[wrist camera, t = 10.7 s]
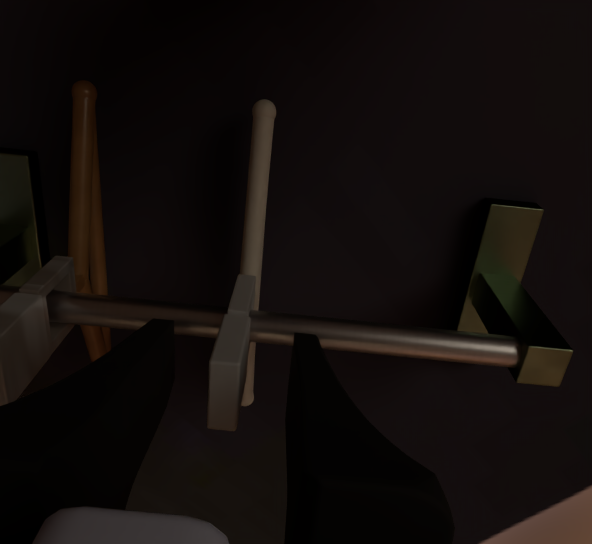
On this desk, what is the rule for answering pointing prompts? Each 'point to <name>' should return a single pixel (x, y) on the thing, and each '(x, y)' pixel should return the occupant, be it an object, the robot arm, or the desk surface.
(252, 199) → the white hanger
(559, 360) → the rail
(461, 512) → the desk surface
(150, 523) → the robot arm
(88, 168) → the beech hanger
